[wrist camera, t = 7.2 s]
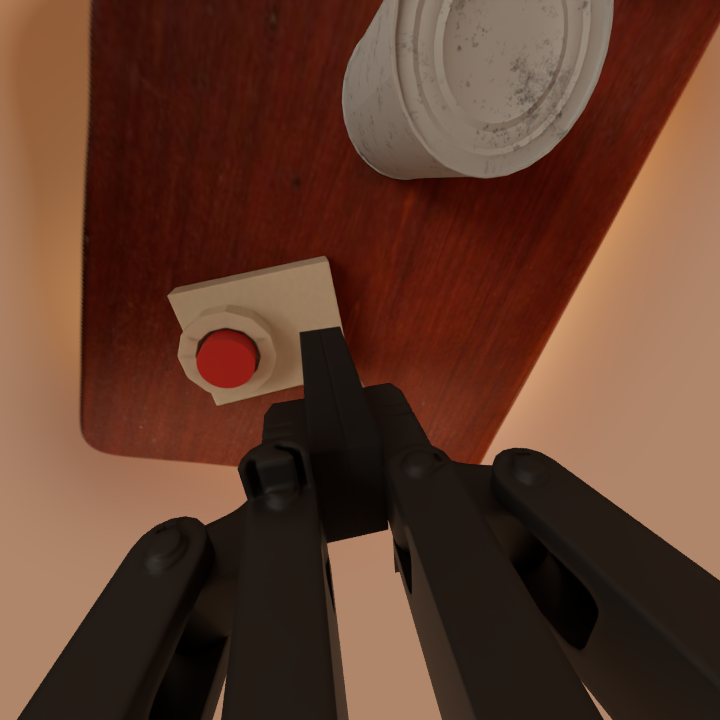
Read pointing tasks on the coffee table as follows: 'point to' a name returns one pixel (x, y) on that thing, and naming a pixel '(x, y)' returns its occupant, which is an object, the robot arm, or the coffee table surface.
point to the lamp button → (226, 359)
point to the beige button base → (258, 321)
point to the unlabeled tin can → (471, 83)
